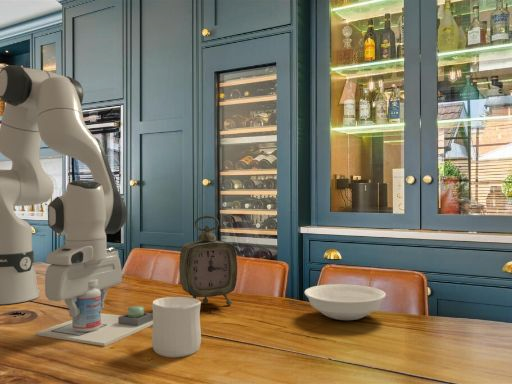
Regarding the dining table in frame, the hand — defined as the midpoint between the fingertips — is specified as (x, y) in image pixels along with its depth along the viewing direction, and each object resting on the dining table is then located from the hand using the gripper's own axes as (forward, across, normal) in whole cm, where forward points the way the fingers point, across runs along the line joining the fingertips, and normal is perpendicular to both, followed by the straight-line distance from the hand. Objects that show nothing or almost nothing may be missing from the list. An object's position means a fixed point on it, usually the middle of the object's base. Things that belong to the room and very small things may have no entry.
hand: (87, 312), depth 104 cm
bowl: (+5, -33, +52) cm, 61 cm away
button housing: (+5, -9, +7) cm, 12 cm away
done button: (+3, -9, +7) cm, 12 cm away
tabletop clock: (+5, -31, +14) cm, 34 cm away
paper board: (+5, -3, +1) cm, 6 cm away
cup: (+5, +2, +26) cm, 26 cm away
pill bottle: (+4, 0, 0) cm, 4 cm away
